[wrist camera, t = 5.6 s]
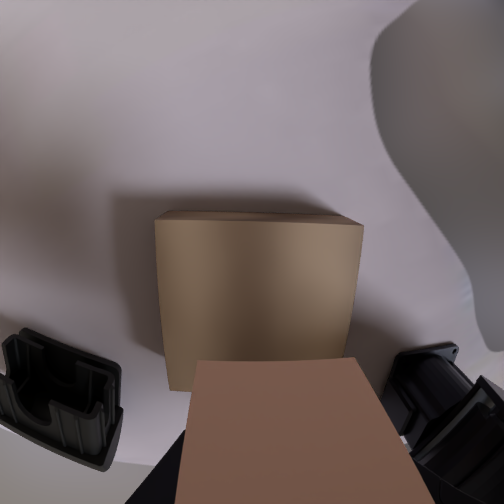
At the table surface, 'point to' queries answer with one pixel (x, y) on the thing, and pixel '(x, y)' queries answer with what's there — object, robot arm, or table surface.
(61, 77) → the table surface
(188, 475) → the terracotta block
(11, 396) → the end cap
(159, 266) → the tan block
